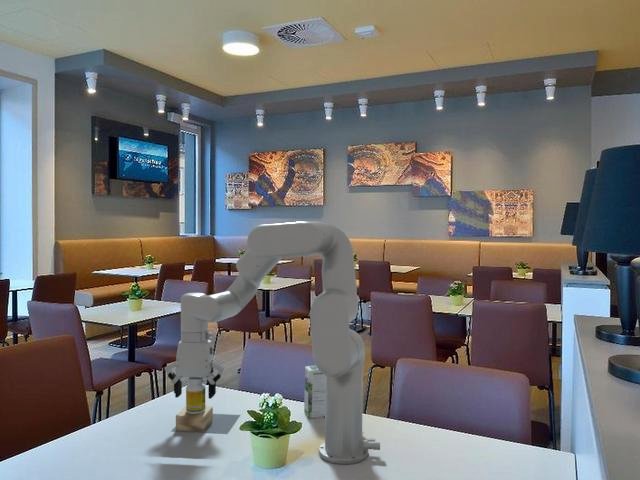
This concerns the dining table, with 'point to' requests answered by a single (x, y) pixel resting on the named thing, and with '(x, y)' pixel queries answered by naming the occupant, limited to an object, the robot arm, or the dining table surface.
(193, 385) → the supplement bottle
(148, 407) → the dining table surface
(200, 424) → the oak block
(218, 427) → the mat
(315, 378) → the syrup box
